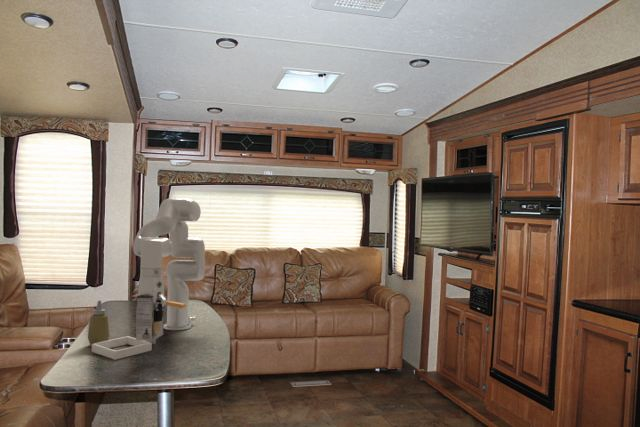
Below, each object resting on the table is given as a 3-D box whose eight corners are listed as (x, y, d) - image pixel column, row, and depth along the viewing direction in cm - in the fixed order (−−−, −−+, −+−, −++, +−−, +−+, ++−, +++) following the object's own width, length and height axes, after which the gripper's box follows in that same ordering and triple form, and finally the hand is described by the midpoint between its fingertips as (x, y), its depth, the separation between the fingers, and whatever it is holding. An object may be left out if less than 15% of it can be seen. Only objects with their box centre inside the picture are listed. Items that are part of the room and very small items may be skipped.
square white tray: (143, 339, 208) (144, 300, 208) (167, 346, 199) (168, 304, 199) (91, 351, 189) (92, 308, 189) (115, 359, 180) (116, 314, 180)
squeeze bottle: (85, 348, 193) (86, 302, 193) (89, 343, 201) (90, 299, 201) (107, 347, 195) (108, 302, 195) (110, 342, 203) (111, 298, 203)
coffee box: (147, 334, 186) (148, 291, 186) (163, 334, 185) (164, 292, 185) (135, 340, 177) (135, 296, 177) (152, 341, 176) (152, 296, 176)
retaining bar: (147, 301, 202) (147, 298, 202) (154, 300, 205) (154, 297, 205) (180, 308, 190) (180, 304, 190) (186, 307, 193) (187, 303, 193)
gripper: (174, 273, 179) (173, 321, 179) (145, 269, 189) (144, 314, 189) (157, 275, 173) (156, 324, 173) (128, 271, 183) (126, 317, 183)
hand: (149, 319), depth 181 cm, fingers closed on coffee box, 8 cm apart
